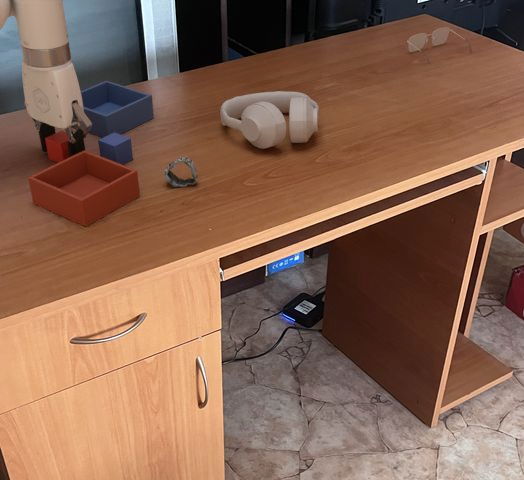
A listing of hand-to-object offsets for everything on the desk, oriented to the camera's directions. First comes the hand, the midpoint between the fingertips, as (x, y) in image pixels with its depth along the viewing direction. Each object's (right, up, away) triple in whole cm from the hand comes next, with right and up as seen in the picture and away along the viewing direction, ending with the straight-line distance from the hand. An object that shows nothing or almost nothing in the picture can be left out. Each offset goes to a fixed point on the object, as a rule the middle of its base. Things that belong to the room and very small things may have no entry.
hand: (64, 154), depth 139 cm
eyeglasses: (+76, +33, +42) cm, 93 cm away
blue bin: (+6, +10, +13) cm, 17 cm away
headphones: (+37, +6, +9) cm, 39 cm away
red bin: (+6, -10, -11) cm, 16 cm away
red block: (0, -1, +1) cm, 1 cm away
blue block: (+9, -1, 0) cm, 9 cm away
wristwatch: (+21, -7, -7) cm, 24 cm away
